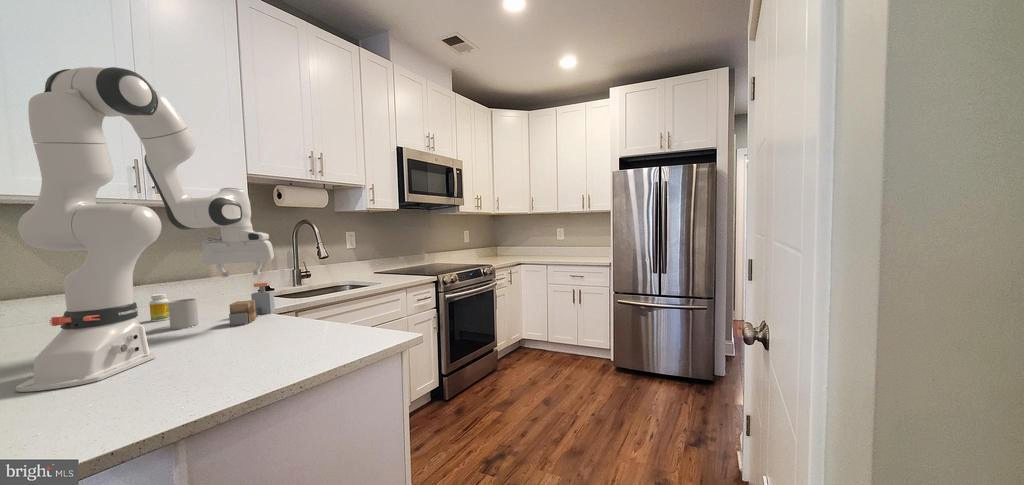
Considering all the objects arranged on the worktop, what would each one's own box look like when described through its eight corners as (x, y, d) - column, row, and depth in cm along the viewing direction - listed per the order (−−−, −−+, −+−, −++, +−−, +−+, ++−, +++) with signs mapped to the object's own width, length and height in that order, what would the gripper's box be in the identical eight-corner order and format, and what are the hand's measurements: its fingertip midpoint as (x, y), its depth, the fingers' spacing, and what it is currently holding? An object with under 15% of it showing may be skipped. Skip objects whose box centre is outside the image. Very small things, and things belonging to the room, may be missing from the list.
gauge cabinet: (270, 313, 143) (269, 292, 142) (252, 315, 141) (251, 294, 141) (274, 310, 147) (273, 290, 146) (257, 312, 145) (255, 292, 145)
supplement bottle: (151, 320, 140) (149, 294, 139) (171, 317, 143) (168, 292, 143) (150, 322, 136) (147, 296, 135) (170, 319, 139) (167, 294, 139)
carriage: (249, 322, 128) (247, 303, 127) (231, 324, 126) (229, 304, 126) (256, 318, 133) (254, 299, 133) (238, 320, 132) (237, 301, 132)
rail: (247, 324, 126) (246, 312, 126) (230, 326, 125) (229, 314, 125) (264, 314, 142) (263, 303, 141) (249, 315, 140) (248, 305, 140)
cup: (171, 331, 122) (168, 303, 122) (169, 326, 129) (166, 300, 129) (199, 326, 127) (197, 300, 127) (196, 321, 134) (194, 297, 134)
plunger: (267, 296, 143) (266, 282, 142) (254, 297, 141) (253, 283, 141) (270, 295, 146) (269, 281, 145) (257, 296, 145) (256, 282, 144)
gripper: (196, 238, 123) (200, 279, 124) (267, 234, 128) (270, 274, 129) (206, 237, 129) (210, 277, 130) (273, 234, 134) (277, 272, 135)
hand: (241, 275), depth 129 cm, fingers open, 8 cm apart
